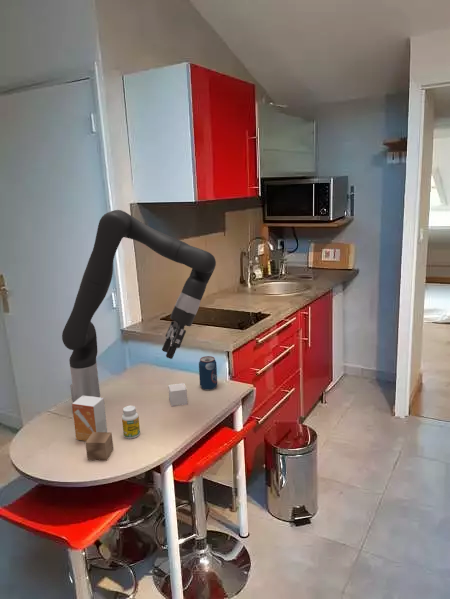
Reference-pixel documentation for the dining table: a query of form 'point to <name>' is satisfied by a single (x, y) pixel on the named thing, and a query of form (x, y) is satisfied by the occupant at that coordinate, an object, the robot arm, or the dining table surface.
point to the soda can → (208, 373)
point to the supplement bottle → (130, 422)
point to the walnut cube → (99, 446)
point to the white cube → (177, 394)
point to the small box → (89, 416)
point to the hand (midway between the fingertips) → (166, 354)
